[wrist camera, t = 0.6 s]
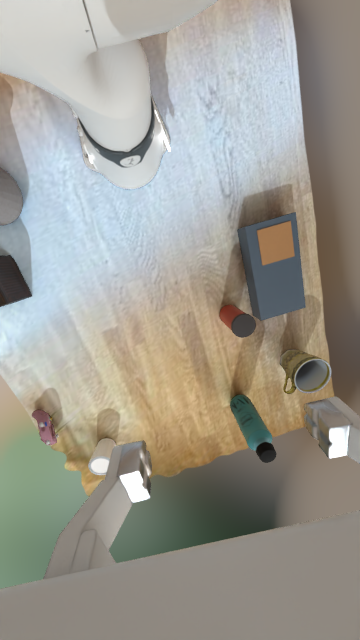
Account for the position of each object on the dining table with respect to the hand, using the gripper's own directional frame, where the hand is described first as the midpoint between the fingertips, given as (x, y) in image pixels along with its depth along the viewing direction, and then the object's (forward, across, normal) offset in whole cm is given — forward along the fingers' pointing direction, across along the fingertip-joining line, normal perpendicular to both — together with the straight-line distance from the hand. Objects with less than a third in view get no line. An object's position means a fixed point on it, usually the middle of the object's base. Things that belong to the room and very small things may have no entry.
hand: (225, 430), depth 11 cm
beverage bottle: (+45, -10, +41) cm, 62 cm away
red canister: (+47, -12, +13) cm, 50 cm away
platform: (+48, -24, +3) cm, 54 cm away
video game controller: (+44, +45, +31) cm, 70 cm away
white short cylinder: (+43, +33, +45) cm, 70 cm away
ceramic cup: (+47, -27, +32) cm, 63 cm away
